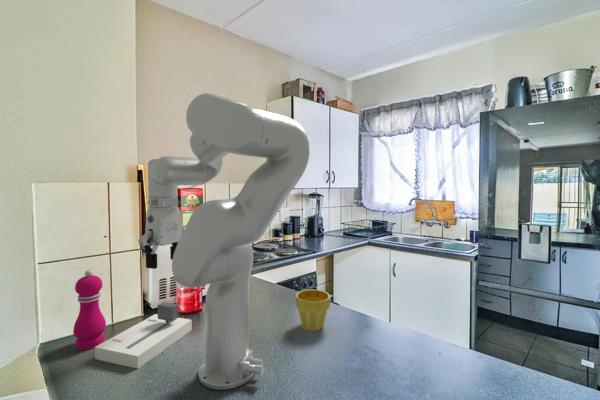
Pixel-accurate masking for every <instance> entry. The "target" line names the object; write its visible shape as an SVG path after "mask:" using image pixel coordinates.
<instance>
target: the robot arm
mask: <svg viewBox="0 0 600 400" xmlns="http://www.w3.org/2000/svg"><path fill="white" fill-rule="evenodd" d="M185 116H186V117H185V120H186V124H187V127H188V129H189V131H190V132H191V135H190V138H189V145H190V149H191V151H192V153H193V154H194V156H195V157H196V158H193V157H184V156H182V157H181V156H170V155H166V156H165V155H163V156H161V157H159V158H153V159H150V160H149V161H148V162H147V198H148V201H147V205H148V209H147V212H146V218H145V233H144V234H143V235H142V236H141V237H139V238H138V239H137V240H138V241H137V242H138V244H139V246H140V249H141V251H143V254H144V255H145V267H146V269H153V270H156V269H157V268H158V254H157V253H156V252H157V250H158V248H159V246H160V247H161V246H162V247H164V246H167V245H171V246H170V249H169V250H170V252H169V254H170V260H171V271H172V275H173V276H172V277H173V278H174V280H175V281H176V282H177V283H178V284H179V285H180V286H182V287H184V288H189V289H193V288H199V287H202V286H207V285H209V286H208V289H207V291H206V295H205V307H204V308H205V361H204V362H203V363H202V364H201V365H200V367H199V369H198V380H199V382H200V383H201V384H202V385H203V386H205V387H207V389H208V388H209V389H212V390H217V391H218V390H219V391H223V390H225V391H226V390H231V389H235V388H239V387H240V386H242V385H245V384H246V383H247V382H249V381H250V380H251V379H252V378H253V376H254V375H258V376H261V377H262V376H263V374H264V372H265V366H264V360H263V359H260V358H255V357H254V354H253V353H254V351H253V349H250V348H249V347H250V346H249V343H250V342H249V325H250V324H249V321H250V320H249V318H250V317H249V315H250V313H249V310H250V309H249V308H250V307H249V304H250V303H249V301H250V300H249V299H250V293H249V292H250V280H251V274H252V273H251V272H252V270H253V263H254V249H253V247H252V244H254V243H256V242H258V241H260V239H262V237H263V236H264V235H265V234H266V232H267V230H268V229H269V227H270V225H271V224H272V222H273V220H274V219H275V217H276V216H277V214H278V212H279V211H280V209H281V207H282V206H283V204H284V202H285V201H286V200H287V198H288V197H289V195H290V194H291V192H292V191H293V189H294V188H295V186H296V185H298V183H299V181H300V180H301V178H302V176H303V175H304V173H305V171H306V168H307V167H308V163H309V158H310V142H309V141H310V140H309V137H308V134H307V132H306V131H305V129H304V128H303V126H302V125H301V124H300V123H299V122H297V121H296V120H294V119H293V118H290V117H288V116H286V115H282V114H279V113H275V112H271V111H267V110H264V109H260V108H256V107H253V106H249V105H248V104H245V103H243V102H242V101H238V100H235V99H231V98H228V97H224V96H220V95H217V94H214V93H206V92H205V93H200V94H198V95H197V96H195V97H194V98H193V99H192V100H191V102H190V103H189V104H188V107H187V110H186V114H185ZM228 154H233V155H238V156H246V157H255V158H256V157H257V158H265V159H266V161H265V162H264V163H263V164H261V165H260V166H258V167H257V168H256V169H255V170H254V171H253V172H251V174H250V175H249V176H248V177H247V179H246V181H245V182H244V185H243V187H242V188H241V190H240V191H239V193H238V194H237V195H236V196H235V197H232V198H228V199H213V200H208V201H204V202H203V203H201V204H199V205H198V206H197V207H195V209H194V210H193V212H192V213H191V214H190V217H189V219H188V221H187V223H186V225H185V228H183V223H182V215H181V210H180V207H179V206H178V204H179V202H178V201H179V200H178V199H179V198H178V193H179V192H178V186H202V185H205V184H206V183H208V182H210V181H211V180H213V179H214V178H217V176H218V175H219V174H220V172H221V170H222V167H223V163H224V162H223V160H224V158H225V157H226V156H227V155H228Z"/></svg>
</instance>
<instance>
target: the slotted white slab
mask: <svg viewBox="0 0 600 400" xmlns="http://www.w3.org/2000/svg"><path fill="white" fill-rule="evenodd" d="M192 323H193V320H192V319H188V318H182V317H178V318H177V319H175V320H174V321H170V322H169V323H167V322H165V320H161V319H158V313H155V314H153V315H151V316H149V317H147V318H146V319H144V320H142V321H140V322H138V323H136V324H135V325H133V326H130V327H129V328H127V329H125V330H124V331H122V332H120V333H118V334H116V335H114V336H113V337H111V338H109V339H107V340H104V342H103V343H101V344H100V345H98V346H96V347H95V348H94V358H95V360H97V361H102V362H106V363H111V364H115V365H116V364H117V365H120V366H125V367H128V368H129V367H130V368H133V369H140V368H141V367H142V366H144V365H145V364H147V363H148V362H149V361H151V360H152V359H154V358H155V357H156V356H158V355H159V354H160V353H162V352H163V351H165V350H166V349H168V348H169V347H170V346H171V345H173V344H174V343H175V342H177V341H178V340H180V339H182V338H183V337H184V336H185V335H187V334H188V333H189V332H191V331H192V330H193V324H192Z"/></svg>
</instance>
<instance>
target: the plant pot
mask: <svg viewBox="0 0 600 400" xmlns="http://www.w3.org/2000/svg"><path fill="white" fill-rule="evenodd" d="M330 306H331V295H330V293H329V292H327V291H325V290H321V289H304V290H299V291H298V292H297V293H296V295H295V307H296V308H297V310H298V314H299V321H300V324H301V327H302V329H303V328H304V329H303V330H305V331H307V330H309V331H308V332H318V331H317V330H319V331H321V330H322V329H323V328H324V325H325V321H326V316H327V312H328V310H329V309H330ZM320 329H321V330H320Z"/></svg>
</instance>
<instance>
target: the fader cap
mask: <svg viewBox="0 0 600 400" xmlns="http://www.w3.org/2000/svg"><path fill="white" fill-rule="evenodd" d="M157 314H158V319H161V320H165V322H167V323H169V322H170V321H174V320H175V319H177V318H179V303H172V302H165V301H164V302H161V303H159V304H157Z"/></svg>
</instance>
